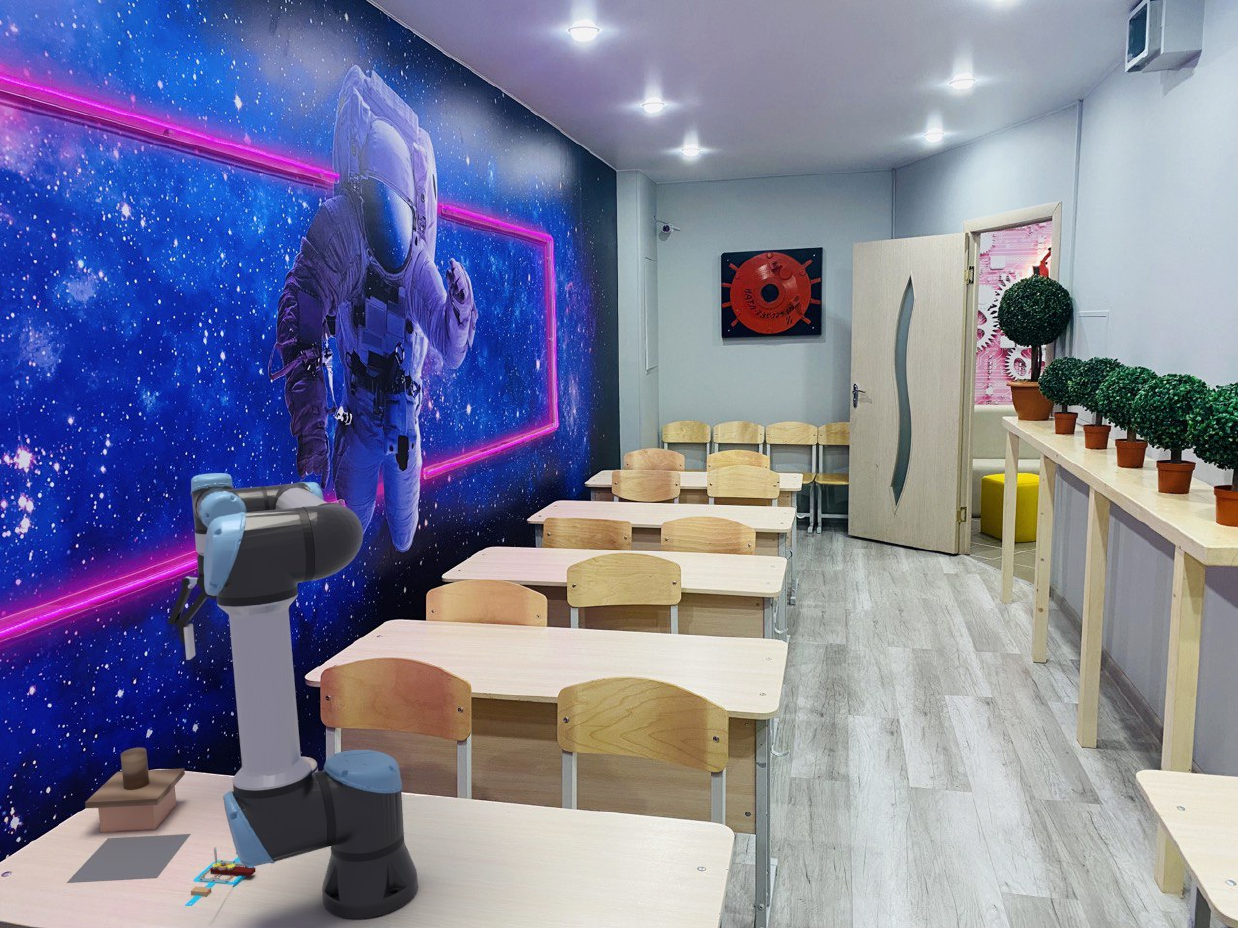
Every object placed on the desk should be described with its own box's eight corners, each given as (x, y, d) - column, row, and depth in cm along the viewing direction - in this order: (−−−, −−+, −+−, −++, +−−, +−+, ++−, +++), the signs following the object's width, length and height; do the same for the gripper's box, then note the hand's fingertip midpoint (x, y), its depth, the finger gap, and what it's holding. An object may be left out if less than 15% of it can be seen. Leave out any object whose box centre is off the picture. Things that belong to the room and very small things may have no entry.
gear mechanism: (284, 850, 175) (237, 846, 177) (282, 821, 174) (234, 818, 176) (218, 914, 156) (166, 909, 157) (216, 882, 155) (163, 878, 157)
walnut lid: (157, 804, 180) (153, 765, 179) (85, 808, 179) (81, 768, 178) (184, 774, 193) (181, 736, 192) (117, 777, 192) (114, 740, 191)
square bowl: (155, 831, 182) (152, 801, 181) (100, 834, 182) (97, 804, 181) (176, 806, 192) (174, 777, 191) (124, 809, 192) (122, 780, 191)
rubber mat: (157, 880, 165) (156, 877, 165) (66, 885, 164) (66, 882, 164) (191, 836, 180) (190, 833, 180) (108, 840, 179) (108, 837, 179)
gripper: (286, 545, 196) (294, 647, 198) (160, 550, 194) (169, 652, 197) (275, 553, 188) (283, 659, 191) (144, 558, 187) (153, 664, 190)
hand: (225, 656), depth 194 cm, fingers open, 13 cm apart
